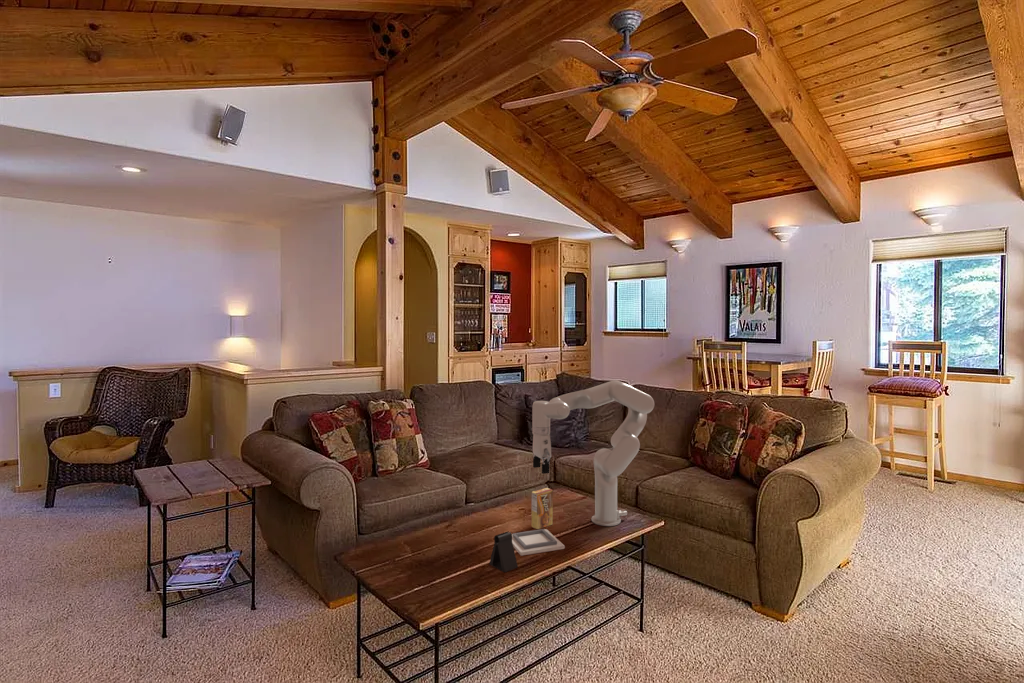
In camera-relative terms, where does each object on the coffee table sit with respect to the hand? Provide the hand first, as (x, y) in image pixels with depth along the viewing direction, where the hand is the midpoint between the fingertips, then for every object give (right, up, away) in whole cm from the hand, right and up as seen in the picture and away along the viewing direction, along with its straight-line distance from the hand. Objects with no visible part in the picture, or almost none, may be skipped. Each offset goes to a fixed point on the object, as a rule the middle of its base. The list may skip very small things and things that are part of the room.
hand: (541, 470), depth 249 cm
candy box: (+1, -24, +2) cm, 24 cm away
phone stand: (-15, -27, -37) cm, 48 cm away
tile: (-3, -25, -17) cm, 31 cm away
